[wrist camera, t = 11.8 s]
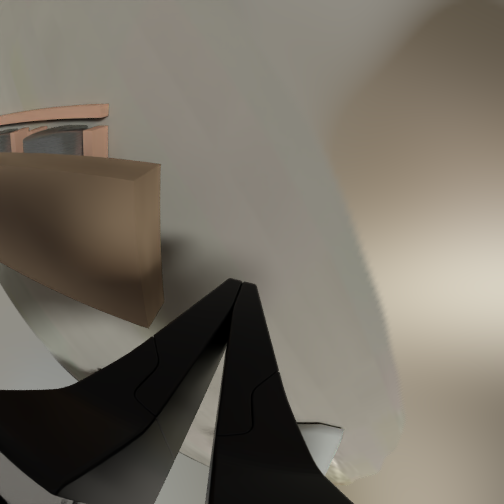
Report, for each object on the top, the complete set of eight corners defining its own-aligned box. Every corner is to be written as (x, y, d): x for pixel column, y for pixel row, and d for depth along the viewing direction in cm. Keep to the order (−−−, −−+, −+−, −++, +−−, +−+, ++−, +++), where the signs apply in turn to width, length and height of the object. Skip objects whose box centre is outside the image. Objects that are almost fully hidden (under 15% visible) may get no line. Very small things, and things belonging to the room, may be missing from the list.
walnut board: (163, 301, 12) (148, 328, 10) (-22, 229, 13) (-36, 240, 11) (160, 164, 8) (133, 181, 7) (-38, 153, 9) (-55, 162, 8)
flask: (283, 416, 22) (265, 514, 14) (355, 424, 22) (350, 517, 13) (270, 438, 26) (254, 515, 18) (330, 445, 26) (322, 520, 17)
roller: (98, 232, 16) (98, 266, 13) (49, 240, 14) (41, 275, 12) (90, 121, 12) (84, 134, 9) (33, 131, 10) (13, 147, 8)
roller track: (117, 263, 15) (107, 274, 14) (-21, 212, 17) (-29, 218, 16) (108, 103, 10) (92, 107, 9) (-35, 124, 12) (-45, 128, 11)
